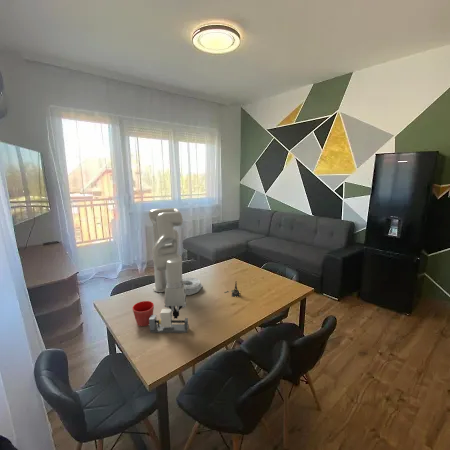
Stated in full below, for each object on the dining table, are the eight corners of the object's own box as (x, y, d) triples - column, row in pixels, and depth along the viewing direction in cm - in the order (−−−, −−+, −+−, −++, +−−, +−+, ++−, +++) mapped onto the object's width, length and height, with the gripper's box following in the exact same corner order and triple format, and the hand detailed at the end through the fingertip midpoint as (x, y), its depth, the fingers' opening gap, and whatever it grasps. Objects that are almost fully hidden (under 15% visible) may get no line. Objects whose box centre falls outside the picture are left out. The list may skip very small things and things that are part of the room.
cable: (203, 285, 177) (203, 277, 175) (198, 297, 160) (198, 288, 158) (179, 283, 178) (179, 276, 177) (172, 295, 161) (171, 287, 160)
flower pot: (137, 331, 125) (136, 314, 123) (131, 320, 133) (130, 304, 131) (157, 323, 131) (156, 307, 129) (150, 314, 139) (149, 298, 137)
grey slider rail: (149, 332, 123) (148, 320, 122) (152, 326, 129) (151, 313, 127) (187, 332, 124) (186, 320, 122) (188, 326, 129) (188, 314, 128)
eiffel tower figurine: (249, 297, 160) (250, 278, 157) (238, 302, 154) (238, 282, 151) (234, 289, 171) (234, 271, 169) (223, 293, 165) (223, 274, 162)
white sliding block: (161, 326, 124) (160, 312, 122) (162, 322, 127) (162, 308, 126) (170, 326, 124) (170, 312, 122) (172, 322, 127) (171, 308, 126)
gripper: (190, 280, 125) (191, 313, 129) (161, 280, 125) (163, 313, 128) (188, 287, 117) (189, 321, 121) (157, 287, 117) (159, 321, 121)
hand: (176, 317), depth 125 cm, fingers closed
